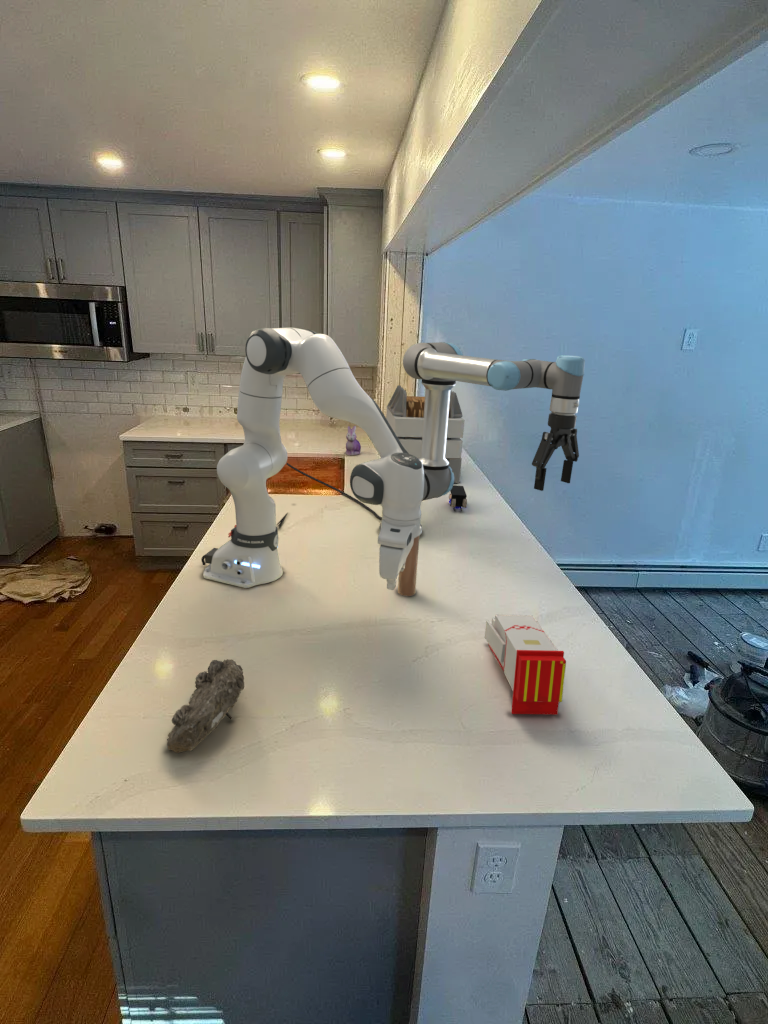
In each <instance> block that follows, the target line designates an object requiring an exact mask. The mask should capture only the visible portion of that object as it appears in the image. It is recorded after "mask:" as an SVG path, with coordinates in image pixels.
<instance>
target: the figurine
mask: <svg viewBox="0 0 768 1024" xmlns="http://www.w3.org/2000/svg"><path fill="white" fill-rule="evenodd" d="M356 430H357V425H353V426H352V428H351V426H350V425H348V426H347V433H346V435H345V439H346V440H347V441H346V442H345V452H344V453H345V455H346V456H357V455H360V454H361V449H362V446H361V443H360V441H359V440H358V439H357V438H358V437H357V434H356Z"/></svg>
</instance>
